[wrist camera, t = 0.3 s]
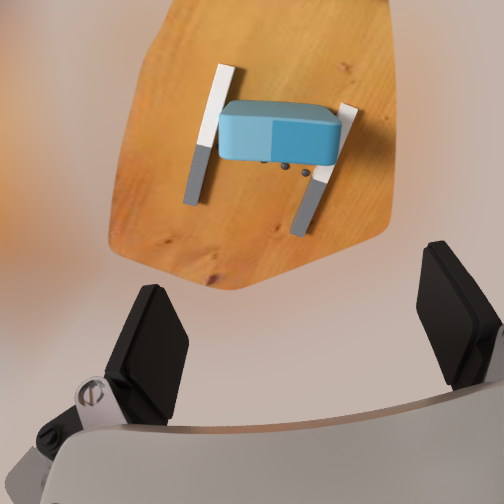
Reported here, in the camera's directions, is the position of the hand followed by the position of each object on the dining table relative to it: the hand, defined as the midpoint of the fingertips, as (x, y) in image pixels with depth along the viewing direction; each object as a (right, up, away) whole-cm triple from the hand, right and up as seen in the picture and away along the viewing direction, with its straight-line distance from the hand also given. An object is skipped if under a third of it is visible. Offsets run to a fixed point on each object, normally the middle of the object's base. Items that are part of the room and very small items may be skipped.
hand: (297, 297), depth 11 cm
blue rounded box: (+2, +19, +28) cm, 34 cm away
